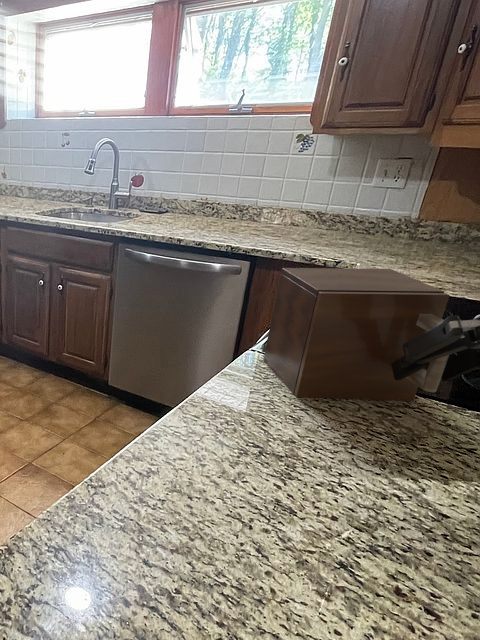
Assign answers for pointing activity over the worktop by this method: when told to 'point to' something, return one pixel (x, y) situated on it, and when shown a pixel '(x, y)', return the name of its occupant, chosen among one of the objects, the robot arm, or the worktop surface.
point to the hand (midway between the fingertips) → (419, 372)
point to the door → (368, 345)
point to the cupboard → (299, 306)
